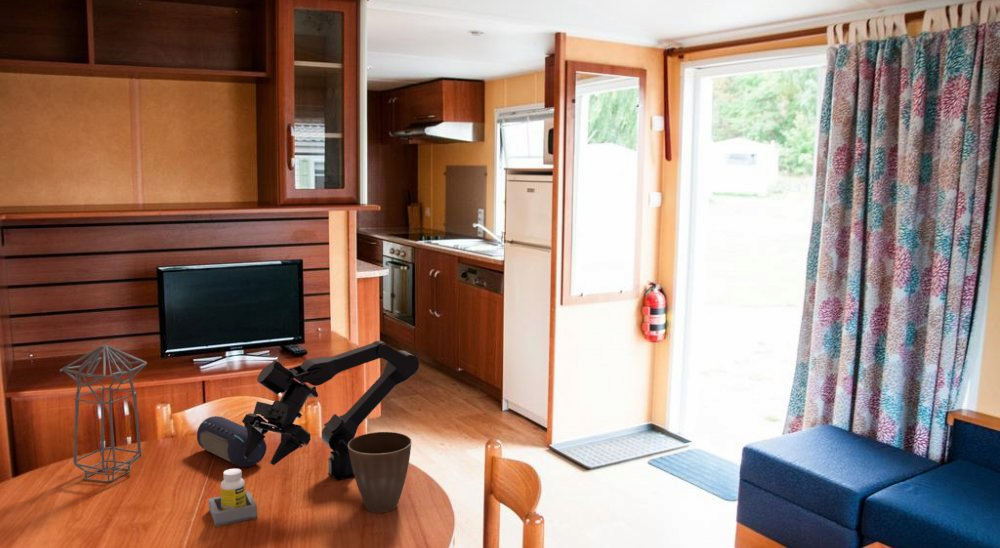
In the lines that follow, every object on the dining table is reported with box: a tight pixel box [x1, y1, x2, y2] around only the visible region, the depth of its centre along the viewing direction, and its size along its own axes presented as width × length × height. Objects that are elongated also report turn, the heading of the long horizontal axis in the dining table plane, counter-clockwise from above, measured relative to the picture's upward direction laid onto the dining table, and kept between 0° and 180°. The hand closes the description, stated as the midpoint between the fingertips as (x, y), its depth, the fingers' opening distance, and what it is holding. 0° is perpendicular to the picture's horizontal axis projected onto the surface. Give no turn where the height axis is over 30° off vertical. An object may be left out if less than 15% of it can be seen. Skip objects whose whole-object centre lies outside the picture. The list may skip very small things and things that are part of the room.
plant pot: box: [348, 431, 413, 514], centre depth 185 cm, size 15×15×16 cm
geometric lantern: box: [59, 344, 148, 483], centre depth 202 cm, size 16×16×35 cm
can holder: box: [208, 490, 258, 527], centre depth 181 cm, size 9×9×3 cm
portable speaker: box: [196, 415, 267, 468], centre depth 216 cm, size 25×10×10 cm, turn 48°
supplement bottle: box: [220, 468, 246, 511], centre depth 181 cm, size 5×5×10 cm
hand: (258, 460), depth 187 cm, fingers open, 9 cm apart
